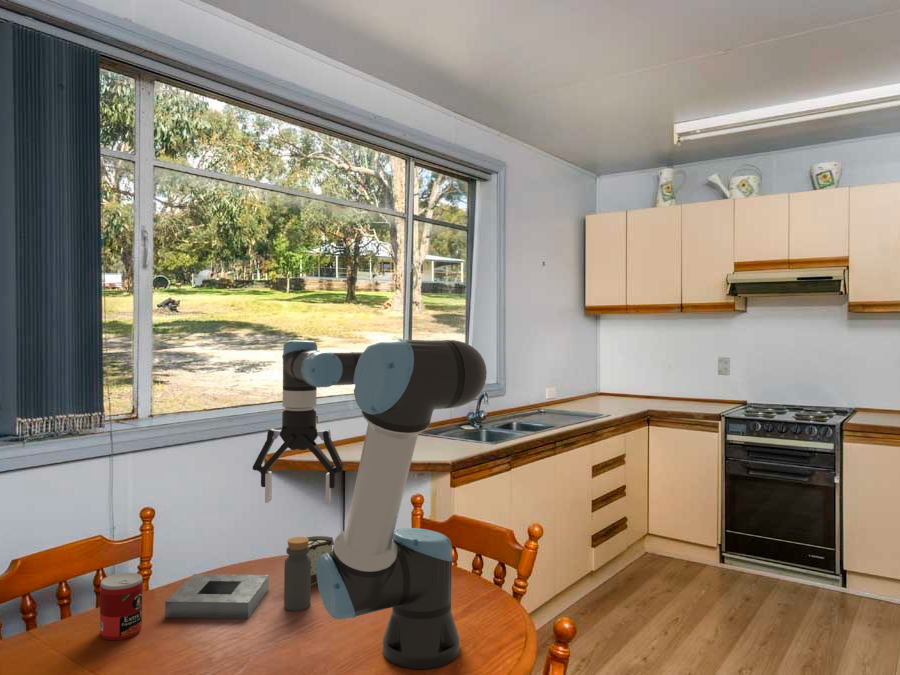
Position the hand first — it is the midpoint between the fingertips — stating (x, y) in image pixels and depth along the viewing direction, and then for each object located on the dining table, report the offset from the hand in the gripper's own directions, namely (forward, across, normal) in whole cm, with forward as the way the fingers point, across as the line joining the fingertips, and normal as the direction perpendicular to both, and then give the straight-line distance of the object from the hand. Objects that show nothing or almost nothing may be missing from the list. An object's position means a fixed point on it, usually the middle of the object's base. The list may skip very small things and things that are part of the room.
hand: (298, 501), depth 148 cm
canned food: (+24, +33, +14) cm, 43 cm away
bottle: (+24, 0, 0) cm, 24 cm away
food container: (+24, +1, -15) cm, 28 cm away
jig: (+24, +18, -1) cm, 30 cm away
